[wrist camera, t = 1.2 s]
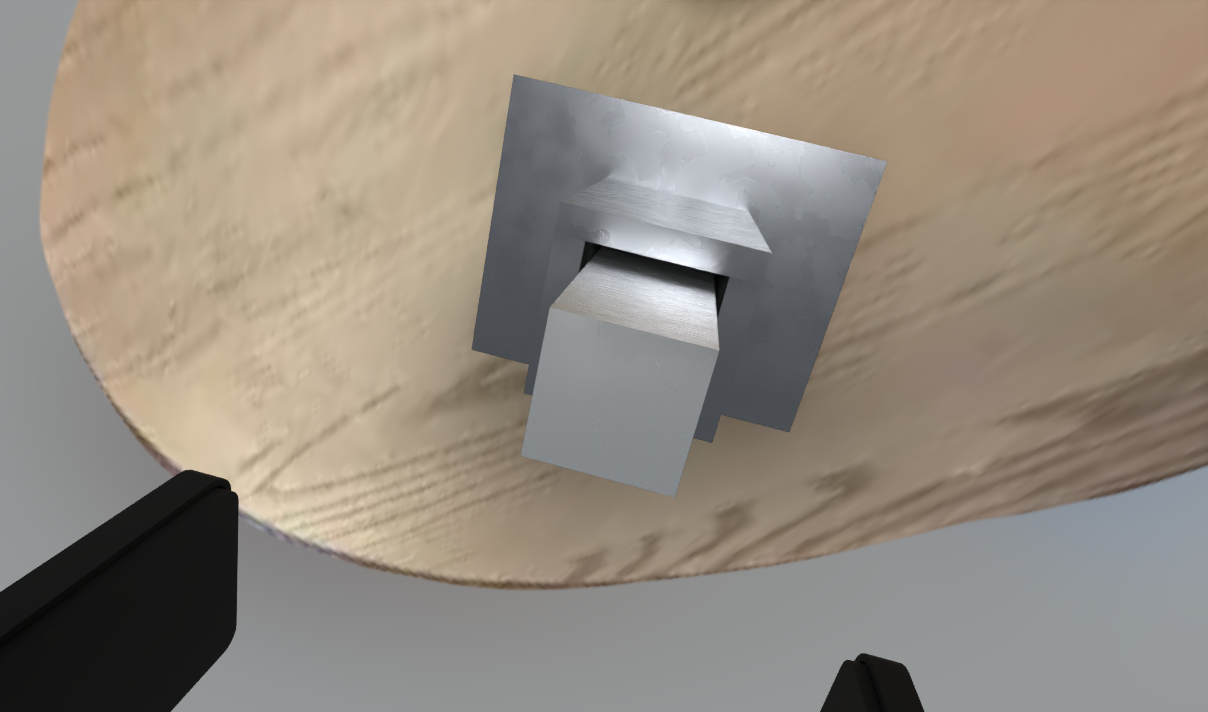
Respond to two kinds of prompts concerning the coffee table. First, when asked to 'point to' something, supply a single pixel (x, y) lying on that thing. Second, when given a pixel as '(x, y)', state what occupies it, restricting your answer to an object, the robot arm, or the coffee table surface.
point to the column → (625, 370)
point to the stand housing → (675, 232)
